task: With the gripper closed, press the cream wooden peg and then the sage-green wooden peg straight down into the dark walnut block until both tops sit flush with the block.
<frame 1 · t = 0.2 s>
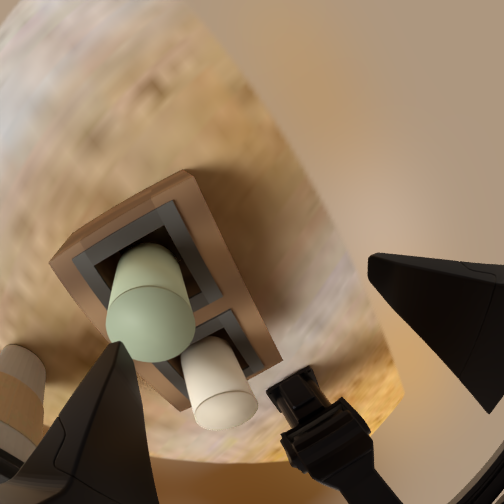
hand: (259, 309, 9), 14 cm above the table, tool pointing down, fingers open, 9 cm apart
sage peg: (148, 297, 13), point 8 cm above the table, slide at 5.0 cm
walnut block: (172, 284, 22), on the table
cream peg: (215, 382, 17), point 8 cm above the table, slide at 5.0 cm
coffee cup: (25, 364, 20), on the table
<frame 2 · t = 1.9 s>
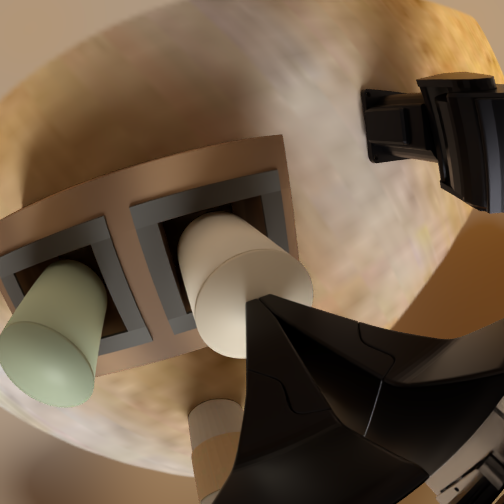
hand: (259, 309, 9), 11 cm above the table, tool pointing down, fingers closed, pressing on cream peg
sage peg: (58, 327, 9), point 8 cm above the table, slide at 5.0 cm
walnut block: (143, 241, 17), on the table
cream peg: (233, 274, 11), point 8 cm above the table, slide at 5.0 cm, touching gripper
coffee cup: (215, 413, 26), on the table
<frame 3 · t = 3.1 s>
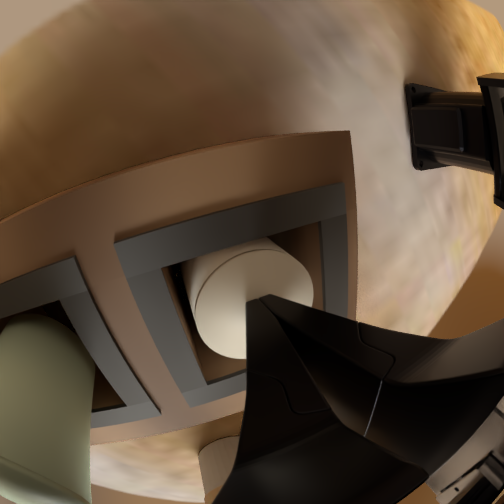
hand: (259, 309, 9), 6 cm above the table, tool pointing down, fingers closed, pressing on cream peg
sage peg: (30, 416, 5), point 8 cm above the table, slide at 5.0 cm
walnut block: (140, 271, 13), on the table
cream peg: (233, 274, 11), point 3 cm above the table, slide at 0.1 cm, touching gripper
coffee cup: (228, 448, 21), on the table
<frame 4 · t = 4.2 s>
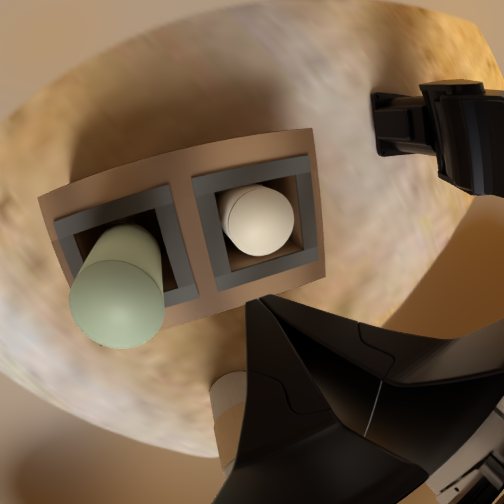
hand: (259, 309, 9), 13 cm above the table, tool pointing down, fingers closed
sage peg: (121, 278, 12), point 8 cm above the table, slide at 5.0 cm
walnut block: (184, 216, 20), on the table
cream peg: (247, 212, 18), point 3 cm above the table, slide at 0.1 cm
coffee cup: (234, 386, 29), on the table
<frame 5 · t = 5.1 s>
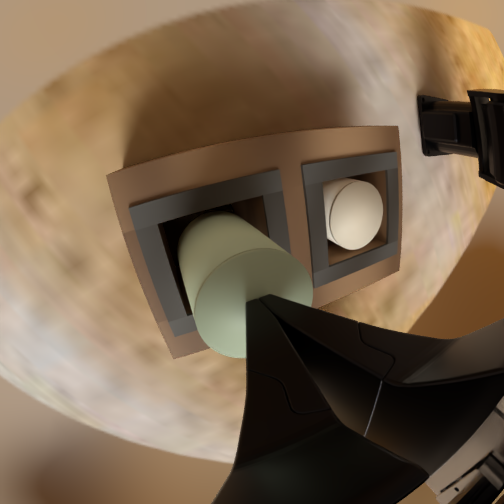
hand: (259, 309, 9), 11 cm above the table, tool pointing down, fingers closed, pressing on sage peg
sage peg: (233, 274, 11), point 8 cm above the table, slide at 4.8 cm, touching gripper
walnut block: (256, 209, 19), on the table
cream peg: (331, 206, 17), point 3 cm above the table, slide at 0.1 cm
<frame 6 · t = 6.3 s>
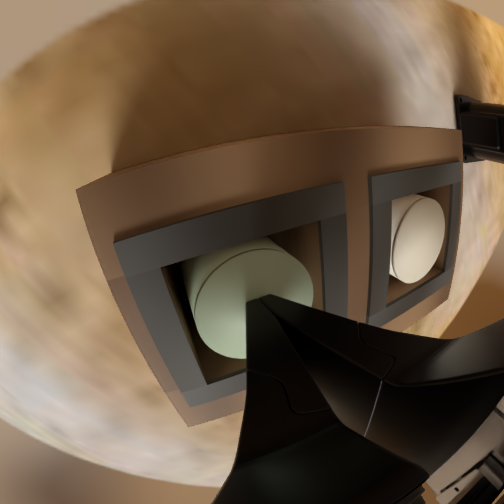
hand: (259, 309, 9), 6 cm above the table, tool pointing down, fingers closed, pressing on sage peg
sage peg: (233, 274, 11), point 3 cm above the table, slide at 0.1 cm, touching gripper
walnut block: (286, 227, 15), on the table
cream peg: (382, 225, 13), point 3 cm above the table, slide at 0.1 cm
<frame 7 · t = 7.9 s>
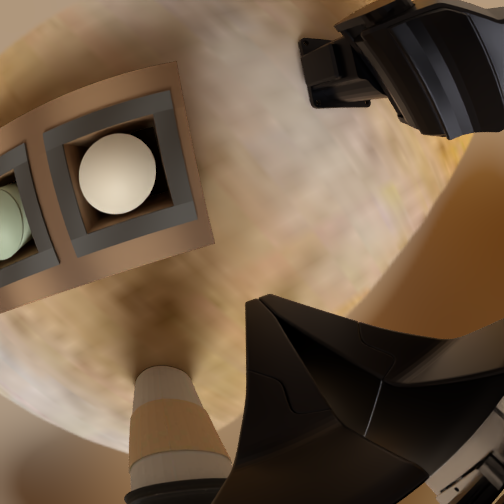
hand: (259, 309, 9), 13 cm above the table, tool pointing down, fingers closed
sage peg: (15, 214, 12), point 3 cm above the table, slide at 0.1 cm
walnut block: (77, 186, 16), on the table
cream peg: (122, 170, 14), point 3 cm above the table, slide at 0.1 cm
coffee cup: (163, 383, 24), on the table
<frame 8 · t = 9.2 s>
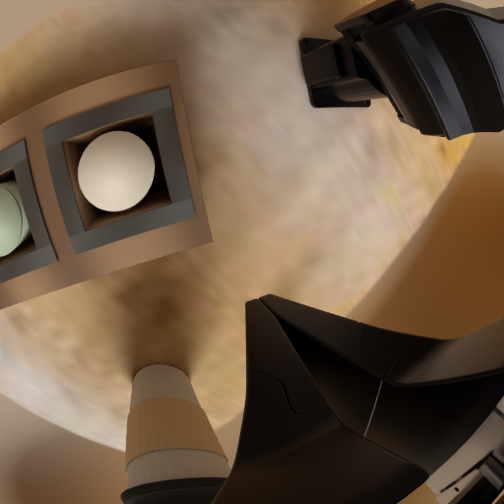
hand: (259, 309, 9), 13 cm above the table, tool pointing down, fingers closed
sage peg: (15, 211, 12), point 3 cm above the table, slide at 0.1 cm
walnut block: (76, 183, 16), on the table
cream peg: (121, 168, 14), point 3 cm above the table, slide at 0.1 cm
coffee cup: (161, 382, 24), on the table
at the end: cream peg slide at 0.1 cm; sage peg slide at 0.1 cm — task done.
